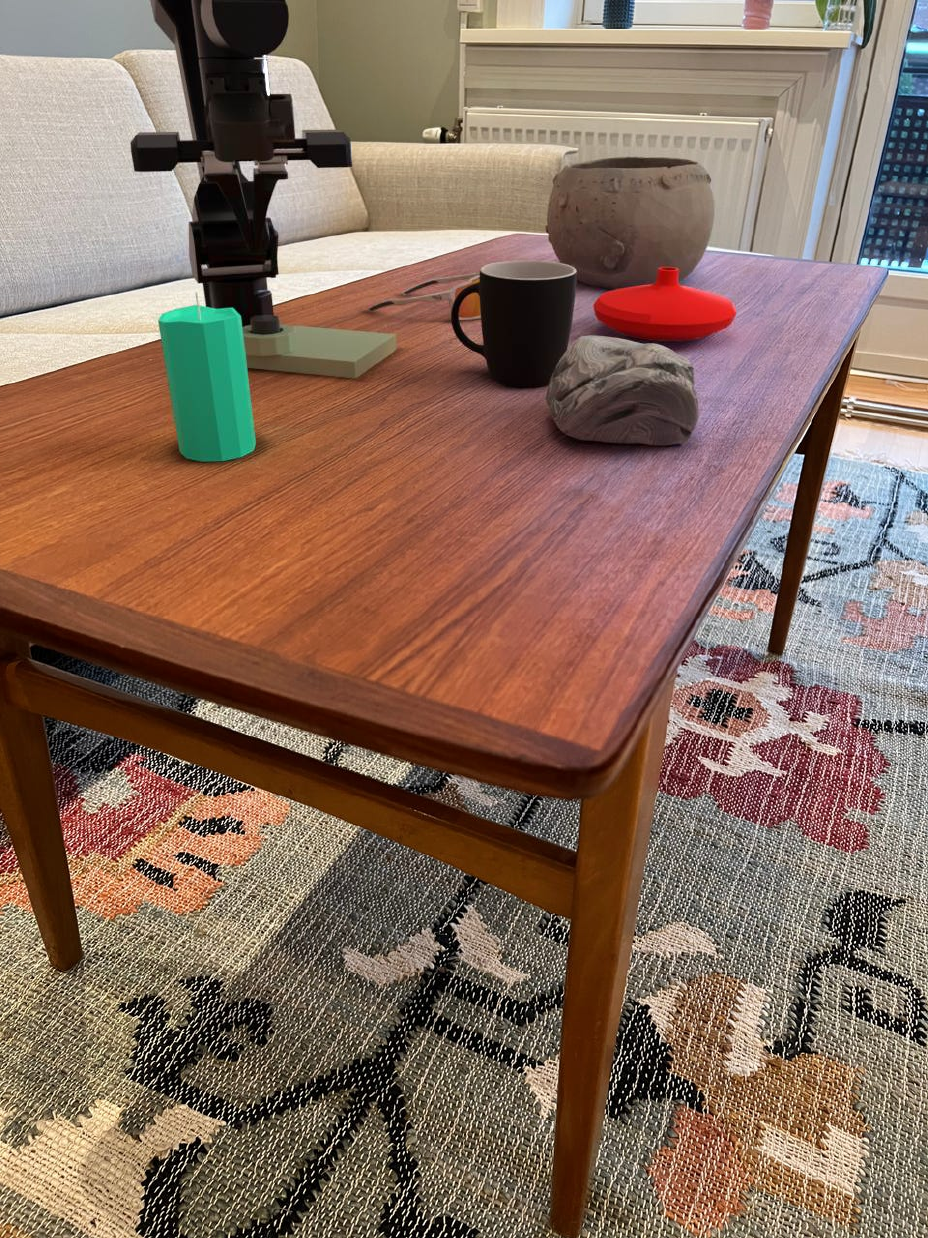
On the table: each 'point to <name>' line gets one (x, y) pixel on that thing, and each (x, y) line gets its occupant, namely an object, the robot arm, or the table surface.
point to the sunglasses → (442, 296)
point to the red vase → (664, 310)
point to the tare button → (265, 324)
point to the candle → (208, 382)
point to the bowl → (630, 218)
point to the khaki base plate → (317, 350)
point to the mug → (522, 319)
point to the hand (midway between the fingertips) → (254, 253)
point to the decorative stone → (623, 393)
